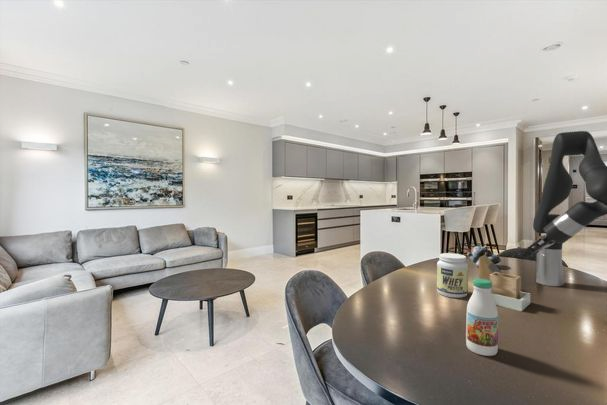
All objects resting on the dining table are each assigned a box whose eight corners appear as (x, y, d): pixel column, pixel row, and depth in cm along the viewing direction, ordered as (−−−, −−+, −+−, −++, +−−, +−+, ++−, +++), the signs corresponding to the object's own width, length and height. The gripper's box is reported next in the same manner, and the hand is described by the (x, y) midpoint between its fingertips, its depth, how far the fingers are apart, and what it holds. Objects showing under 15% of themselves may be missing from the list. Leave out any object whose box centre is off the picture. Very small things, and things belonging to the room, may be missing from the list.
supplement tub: (437, 296, 126) (438, 257, 125) (435, 287, 137) (435, 251, 137) (470, 300, 122) (470, 259, 121) (465, 290, 133) (465, 253, 132)
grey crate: (530, 303, 117) (530, 293, 117) (521, 311, 110) (521, 300, 110) (489, 293, 129) (489, 284, 128) (478, 300, 121) (478, 290, 121)
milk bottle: (460, 343, 88) (461, 276, 87) (484, 341, 89) (485, 275, 88) (477, 357, 80) (478, 285, 80) (504, 356, 81) (505, 284, 80)
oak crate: (520, 301, 118) (520, 276, 117) (515, 305, 114) (516, 279, 113) (494, 295, 125) (494, 271, 124) (489, 298, 121) (489, 274, 120)
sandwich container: (519, 298, 123) (520, 263, 123) (478, 289, 134) (478, 257, 134) (523, 293, 129) (524, 259, 128) (484, 285, 140) (484, 254, 140)
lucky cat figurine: (482, 270, 165) (470, 246, 170) (471, 273, 177) (460, 251, 181) (506, 261, 167) (493, 238, 172) (494, 264, 178) (481, 243, 183)
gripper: (560, 217, 110) (525, 244, 120) (547, 222, 102) (510, 250, 112) (580, 232, 106) (542, 259, 116) (567, 238, 98) (528, 266, 108)
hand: (527, 255), depth 114 cm, fingers open, 8 cm apart
